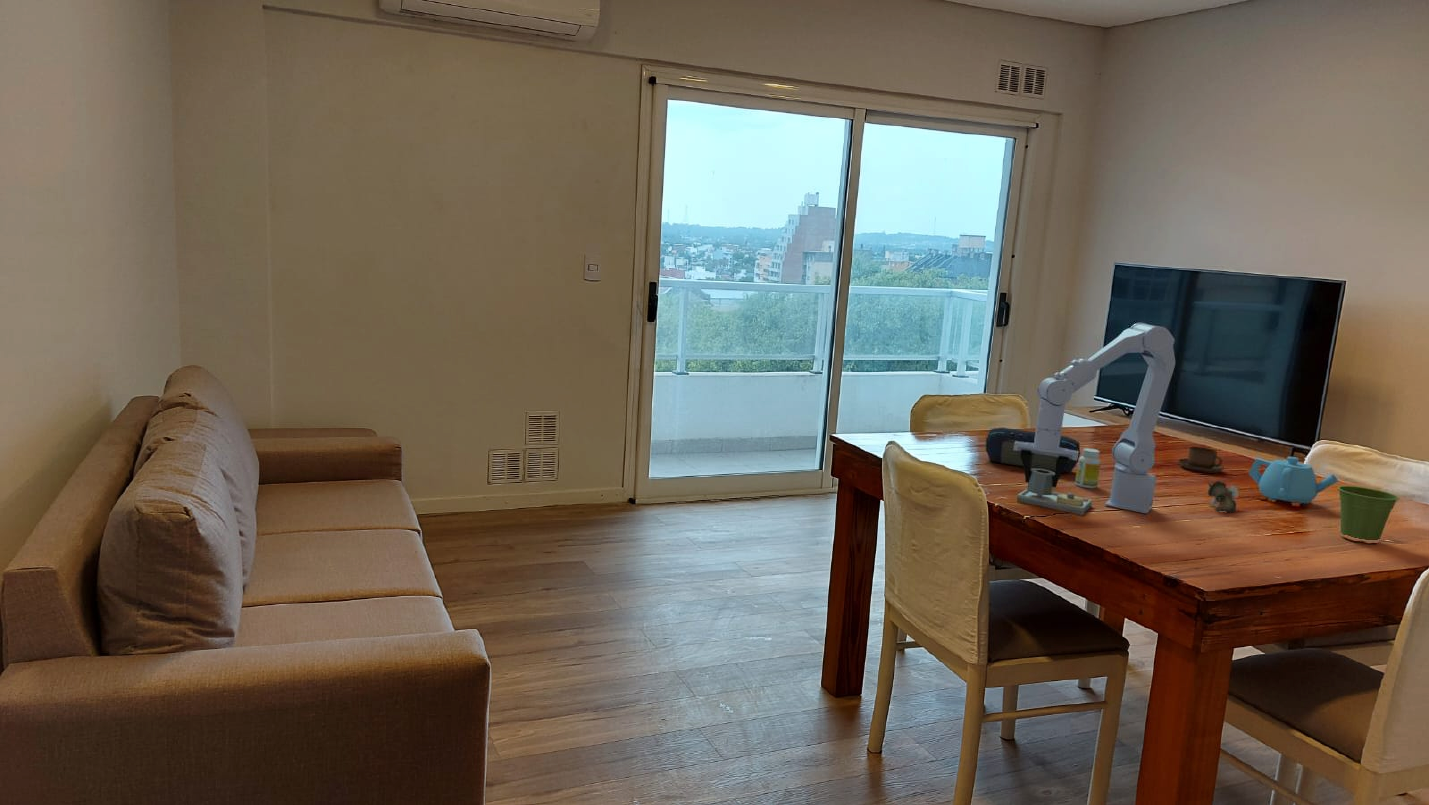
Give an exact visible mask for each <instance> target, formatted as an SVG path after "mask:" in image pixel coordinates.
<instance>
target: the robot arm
mask: <svg viewBox="0 0 1429 805" xmlns="http://www.w3.org/2000/svg"><path fill="white" fill-rule="evenodd" d="M1175 341H1176V340H1175V338H1174V337H1173V335H1172V334H1171V332H1170V331H1169V330H1168V328H1166V327H1164V326H1162V325H1161V326H1158V325H1153V324H1148V323H1145V322H1137V323H1134V324H1132V325H1131V327H1129V328H1126V329H1124V330H1123V331H1122V332H1121V333H1120V334H1119V335H1118V336H1117V337H1115V338H1114V339H1113V340H1112V341H1111V342H1109V343H1108V344H1106V345H1105V346H1104V347H1102V348H1101V349H1100V350H1098V351H1097V352H1096V353H1095V354H1093V355H1092V356H1091V357H1089V358H1088V359H1087V358H1086V359H1085V358H1079V359H1073V360H1072V361H1070V365H1068V366H1067V367H1066V368H1064V369H1062V370H1061V371H1060V372H1055V373H1053V376H1054V377H1047V378H1045V379H1043V380H1042V381H1041V382H1040V384H1039V385H1038V386H1039V387H1036V393H1037V396H1038V397H1039V407H1038V411H1037V420H1036V427H1035V432H1036V433H1035V440H1034V443H1026V442H1018V441H1016V442H1015V443H1014V449H1013V450H1016V451H1018V450H1019V451H1021V454H1020V457H1021V460H1022V463H1023V466H1024V467H1023V470H1024V477H1025V478H1024V479H1025V482H1024V483H1026V484H1028V481H1029V475H1030V470H1031V469H1032V468H1031V464H1032V459H1033V454H1034V453H1037V454H1044V455H1050V456H1056V457H1058V458H1057V460H1056V470H1055V472H1054V473H1055V476H1054V481H1053V488H1054V489H1056V488H1057V485H1058V482H1059V479H1060V478H1061V475H1062V471H1063V469H1064V468H1065V466H1066V464H1067V463H1068V461H1069V460H1070V459H1072V460H1077V459H1078V453H1079V451H1074V450H1069V449H1065V448H1061V447H1059V444H1060V437H1061V436H1062V430H1063V428H1062V427H1063V422H1064V414H1065V407H1066V403H1068V402H1069V401H1070V399H1071V397H1072V395H1073V394H1074V393H1075V392H1077V391H1079V390H1080V389H1082V388H1083V387H1085V386H1086V385H1087V384H1089V383H1091V382H1092V381H1093V380H1094V379H1096V376H1097V372H1098V371H1099V370H1100V369H1102V368H1104V367H1106V366H1107V365H1109V364H1111V363H1112V362H1114V361H1116V360H1117V359H1119V358H1120V357H1122V356H1124V355H1126V354H1128V353H1129V354H1133V353H1134V354H1135V353H1137V354H1140V355H1141V356H1142V357H1143V359H1144V361H1145V362H1146V364H1147V365H1148V367H1147V370H1146V372H1145V373H1146V374H1145V377H1144V380H1143V382H1142V386H1141V388H1140V392H1139V394H1138V397H1137V401H1136V404H1135V407H1134V410H1133V413H1132V416H1131V420H1130V423H1129V426H1128V428H1127V429H1125V430H1124V431H1123V432H1122V433H1120V437H1119V439H1118V441H1117V442H1116V443H1115V444H1114V446H1113V447H1112V449H1111V456H1112V459H1113V460H1114V462H1115V464H1114V470H1113V476H1112V483H1111V490H1110V497H1109V499H1108V500H1106V502H1105V503H1104V505H1105V506H1107V507H1112V508H1117V509H1120V510H1121V509H1122V510H1128V511H1131V512H1138V513H1143V514H1148V513H1149V512H1150V510H1151V509H1152V508H1153V504H1154V496H1155V495H1154V494H1155V488H1156V482H1157V481H1156V480H1157V475H1155V474H1151V473H1148V472H1149V471H1150V470H1151V469H1152V468H1153V466H1155V465H1154V464H1155V449H1156V443H1155V440H1154V437H1153V434H1154V431H1155V427H1156V424H1157V421H1158V418H1159V415H1160V412H1161V409H1162V406H1163V403H1164V401H1165V397H1166V395H1167V391H1168V388H1169V385H1170V381H1171V379H1172V376H1173V373H1174V369H1175V366H1176V358H1175V357H1176V356H1175V350H1174V345H1175ZM1053 453H1054V454H1053Z"/></svg>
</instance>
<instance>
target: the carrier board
mask: <svg viewBox="0 0 1429 805" xmlns="http://www.w3.org/2000/svg"><path fill="white" fill-rule="evenodd" d="M1036 495H1037V494H1035V493H1032V492H1030V491H1027V488H1026V489H1024V490H1023V491H1021V492H1020V493H1018V494H1017V498H1016V501H1017V502H1019V503H1024V504H1027V505H1032V506H1038V507H1043V508H1046V509H1053V510H1057V511H1063V512H1067V513H1072V514H1076V515H1081V516H1082V515H1083V514H1085V513H1086V512H1087V511H1088V510H1089V509H1090V508H1091V507H1092V503H1093V500H1092V499H1089V498H1084V497H1080V496H1077V495H1076V494H1075V493H1071V492H1068V493H1066V494H1065V493H1061V492H1055V491H1053V492H1052V495H1043V496H1042V498H1038V497H1036Z"/></svg>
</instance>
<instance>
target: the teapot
mask: <svg viewBox="0 0 1429 805" xmlns="http://www.w3.org/2000/svg"><path fill="white" fill-rule="evenodd" d="M1299 460H1300V458H1298V457H1295V456H1287V458H1286V459H1285V460H1284V459H1275V460H1272V461H1269V460H1266V459H1262V458H1260V457H1255V460H1254V462H1253V463H1252V465H1251V467H1250V470H1249V471H1248V473H1247V474H1248V475H1249V476H1250V477H1251V478H1252V479H1253V480H1254V481H1255V483H1256V484H1258V489H1259V492H1260V493H1261V495H1262V496H1265V497H1267V498H1268V499H1271V500H1277V501H1278V500H1280V501H1285V502H1290V503H1291V502H1293V503H1300V504H1302V503H1304V504H1310V503H1311V502H1312V501H1313V500H1314V499H1315V498H1316V497H1317V496H1318V494H1319V493H1321V492H1322V491H1324V490H1326V489H1329V487H1331V486H1333V485H1335V484H1337V483H1338V482H1339V479H1338V478H1337V477H1336V476H1335V475H1334V474H1331V475H1328V476H1326V477H1325V478H1324V479H1323V480H1321V481H1319V482H1318V481H1317V477H1316V474H1315V471H1314V469H1313V467H1312V465H1311V464H1310V465H1309V464H1306V463H1303V462H1300V461H1299ZM1261 465H1263V466H1265V467H1266V469H1265V470H1264V471H1263V473H1262V474H1261V473H1260V472H1259V470H1260V468H1261ZM1317 482H1318V483H1317Z"/></svg>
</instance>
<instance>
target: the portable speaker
mask: <svg viewBox="0 0 1429 805" xmlns="http://www.w3.org/2000/svg"><path fill="white" fill-rule="evenodd" d="M988 432H989V433H988V434H987V435H986V439H985V452H986V454H987V456H988V459H989V460H990V461H992V462H995V463H998V464H1005V465H1011V466H1016V467H1022V468H1024V466H1023V463H1022V460H1021V457H1020V454H1021V451H1019V450H1018V451H1016V450H1013V449H1014V443H1015V442H1016V441H1018V442H1026V443H1034V440H1035V433H1036V431H1030V430H1021V429H1016V428H1015V429H1014V428H1010V427H1008V428H1007V427H994V428H990V429H989V430H988ZM1080 446H1081V445H1080V442H1078V441H1077V440H1075V439H1074V438H1071V437H1068V436H1066V435H1061V437H1060V444H1059V447H1061V448H1065V449H1069V450H1074V451H1079V453H1078V459H1077V460H1072V459H1070V460H1069V461H1068V463H1067V464H1066V466H1065V468H1064V469H1063V471H1062V473H1065V474H1066V473H1070V472H1072V471H1073V469H1075V467H1076V466H1077V465H1078V461H1079V458H1080V457H1081V456H1080V455H1081V448H1080ZM1053 454H1054V453H1053ZM1057 458H1058V457H1056V456H1050V455H1044V454H1037V453H1034V454H1033V459H1032V464H1031V469H1032V468H1035V469H1044V470H1049V471H1052V472H1054V473H1055V470H1056V460H1057ZM1062 473H1061V474H1062Z"/></svg>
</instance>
